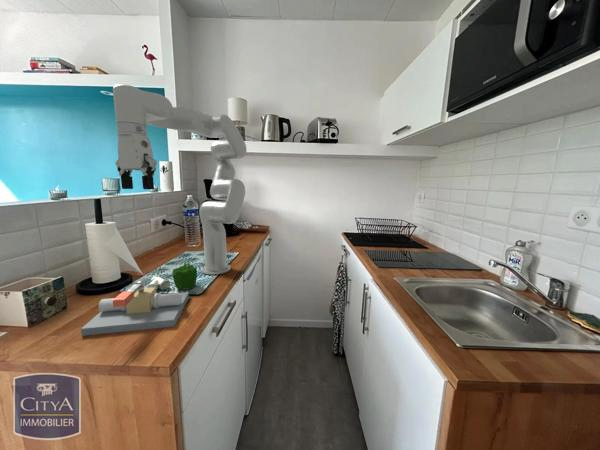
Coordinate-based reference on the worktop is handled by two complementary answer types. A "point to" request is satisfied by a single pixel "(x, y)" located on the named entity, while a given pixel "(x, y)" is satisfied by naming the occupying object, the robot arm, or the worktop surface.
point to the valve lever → (129, 293)
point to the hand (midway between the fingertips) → (138, 189)
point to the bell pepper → (185, 276)
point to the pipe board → (138, 313)
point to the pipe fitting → (159, 283)
